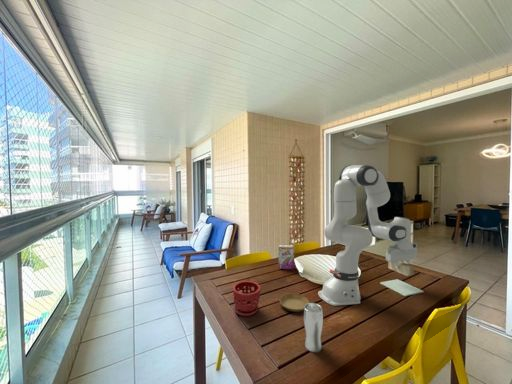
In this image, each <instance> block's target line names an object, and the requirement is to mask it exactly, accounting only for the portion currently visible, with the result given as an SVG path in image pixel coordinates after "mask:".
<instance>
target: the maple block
mask: <svg viewBox="0 0 512 384" xmlns="http://www.w3.org/2000/svg"><path fill="white" fill-rule="evenodd" d="M404 262H405V261H399V262H398V263H397V264H398V266H399V269H396V268H395V265H394V263H391V262H388V261H387V268H388V269H390V270H392V271H395V272H397V273H399V274H401V275H403V276H406V277H408V276H413V275H414V269H415V267H414V265H412V264H409V263H408V264H407V263H404Z"/></svg>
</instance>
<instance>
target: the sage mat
mask: <svg viewBox="0 0 512 384" xmlns="http://www.w3.org/2000/svg"><path fill="white" fill-rule="evenodd" d="M379 284H381V285H382V286H384V287H386V288H388V289H390V290H392V291H394V292H396V293H398V294H400V295H401V296H404V297H408V296H412V295H417V294H421V293H424V290H422V289H420V288H418V287H415V286H413V285H411V284H409V283H407V282H405V281H402V280H400V279H398V278H396V279H391V280H385V281H380V282H379Z"/></svg>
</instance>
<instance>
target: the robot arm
mask: <svg viewBox="0 0 512 384" xmlns="http://www.w3.org/2000/svg"><path fill="white" fill-rule="evenodd" d="M361 186H362V187H364V189H365V193H366V200H365V202H364V205H365V212H366V217H367V225H368V226H367V227H368V229H367V228H365V227H362V226H359V225H354V224H353V225H352V224H348V222H349V220H350V219H353V218H354V217H355V216H356V215H357V211H358V209H357V208H358V206H357V194H356V192H357V188H358V187H361ZM390 198H391V192H390V189H389V185H388V183H387V181H386V178H385V176H384V174H383V173H382V172H381V171H379V170H377V169H376V168H375V167H374V166H372V165H368V164H367V165H366V164H364V165H363V164H352V165H347V166H344V167H342V169H341V170H340V171H339V177H338V180H337V181H336V182H335V184H334V189H333V206H334V208H333V211H334V212H333V216H332V220H331V221H330V222H329V223H328V224H326V225H325V228H324V230H323V231H324V233H323V234H324V236H325V238H326V239H327V240H329V241H330V242H332V243H336V244H340V245H344V246H345V248H344V250H340V251H338V252H337V254H336V256H335V268H334V269H332V268H330V269H329V273H330V274H332V276H331V277H330V278H329V279H327V280H326V281H325V282H324V283H323V285H322V289H321V290H319V291H318V292H317V294H318V296H319V298H320V299H322V301H324V302H325V303H327V304H329V305H331V306H334V307H335V306H347V305H348V306H349V305H359V304H361V299H362V297H361V291H360V288H359V276H360V275H359V273H360V272H359V259H360V255H361V253H362V252H363V251H364V250H366V249H368V248H369V247H370V246H371V244H372V242H373V240H374V238H377V239H382V240H387V241H391V242H392V245H390V246H388V247H387V249H386V251H385V252H386V253H385V260H386V261H387V263H388V262H391V263H394V265H395V268H396V269H399V266H398V264H397V263H398V262H399V261H401V262H404V263H407V264H409V263H410V260H411V261H412V260H416V259H417V257H418V244H417V243H415V242H413V241H412V239H411V235H412V223H411V219H409V218H408V217H403V216H394V218H393V220H392V221H390V222H385V221H384V222H383V221H381V220H380V218H379V213H378V212H379V211H378V208H379V207H382V206H384V205H385V204H387V203H388V202H389V201H390ZM373 237H374V238H373Z"/></svg>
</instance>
